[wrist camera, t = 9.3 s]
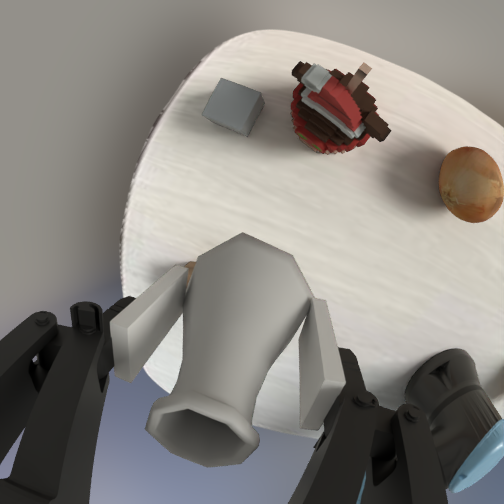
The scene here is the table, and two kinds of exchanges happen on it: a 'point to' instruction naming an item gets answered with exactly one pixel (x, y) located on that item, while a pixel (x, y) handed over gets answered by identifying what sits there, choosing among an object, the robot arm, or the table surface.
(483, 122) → the table surface
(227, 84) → the slate-grey block
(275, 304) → the flask
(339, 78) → the cake
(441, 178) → the onion
